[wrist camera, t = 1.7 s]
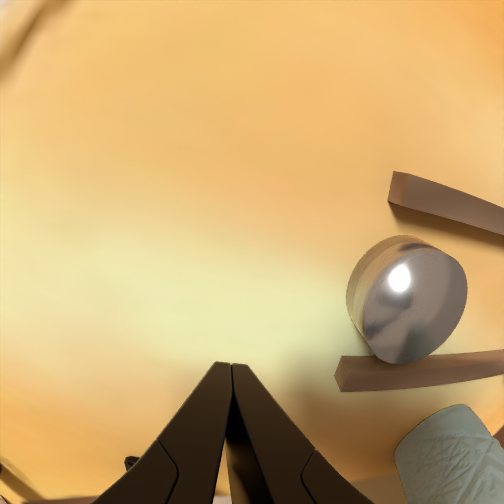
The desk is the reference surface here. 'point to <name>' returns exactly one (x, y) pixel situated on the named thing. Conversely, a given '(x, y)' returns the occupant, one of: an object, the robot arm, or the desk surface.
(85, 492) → the desk surface
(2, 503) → the tea box
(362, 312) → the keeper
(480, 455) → the pale green cup
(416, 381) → the channel
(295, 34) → the desk surface
